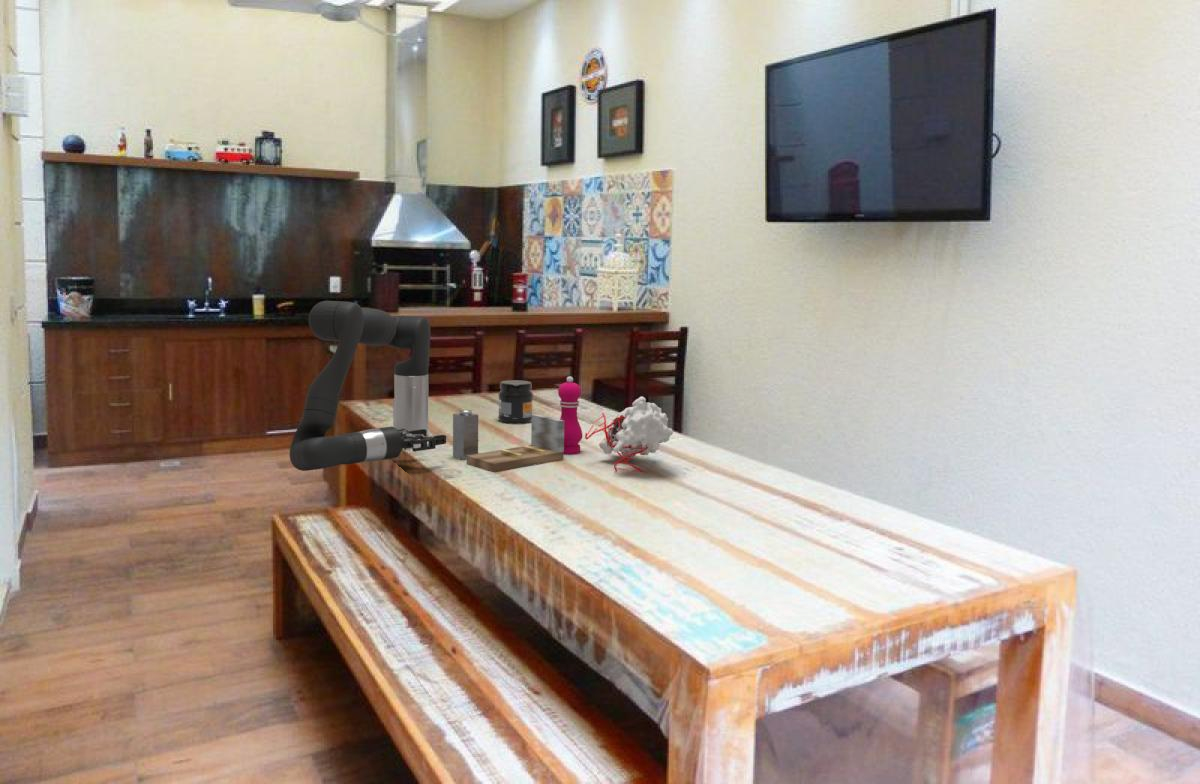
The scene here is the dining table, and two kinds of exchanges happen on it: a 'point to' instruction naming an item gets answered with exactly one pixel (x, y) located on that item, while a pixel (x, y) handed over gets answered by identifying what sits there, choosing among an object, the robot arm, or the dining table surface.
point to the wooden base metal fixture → (527, 448)
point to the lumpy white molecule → (635, 431)
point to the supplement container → (515, 401)
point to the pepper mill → (570, 415)
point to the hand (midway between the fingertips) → (435, 436)
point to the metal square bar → (465, 434)
